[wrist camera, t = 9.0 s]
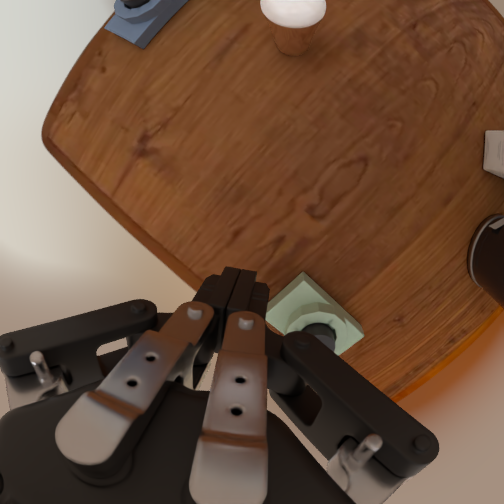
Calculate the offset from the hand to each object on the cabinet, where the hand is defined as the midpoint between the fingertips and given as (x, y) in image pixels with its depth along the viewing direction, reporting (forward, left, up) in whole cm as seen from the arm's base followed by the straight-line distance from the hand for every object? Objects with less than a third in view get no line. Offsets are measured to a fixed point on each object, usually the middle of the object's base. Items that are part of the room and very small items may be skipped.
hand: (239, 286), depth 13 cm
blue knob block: (+16, -22, -14) cm, 31 cm away
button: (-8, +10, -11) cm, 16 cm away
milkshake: (0, -18, -15) cm, 23 cm away
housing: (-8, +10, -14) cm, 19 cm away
